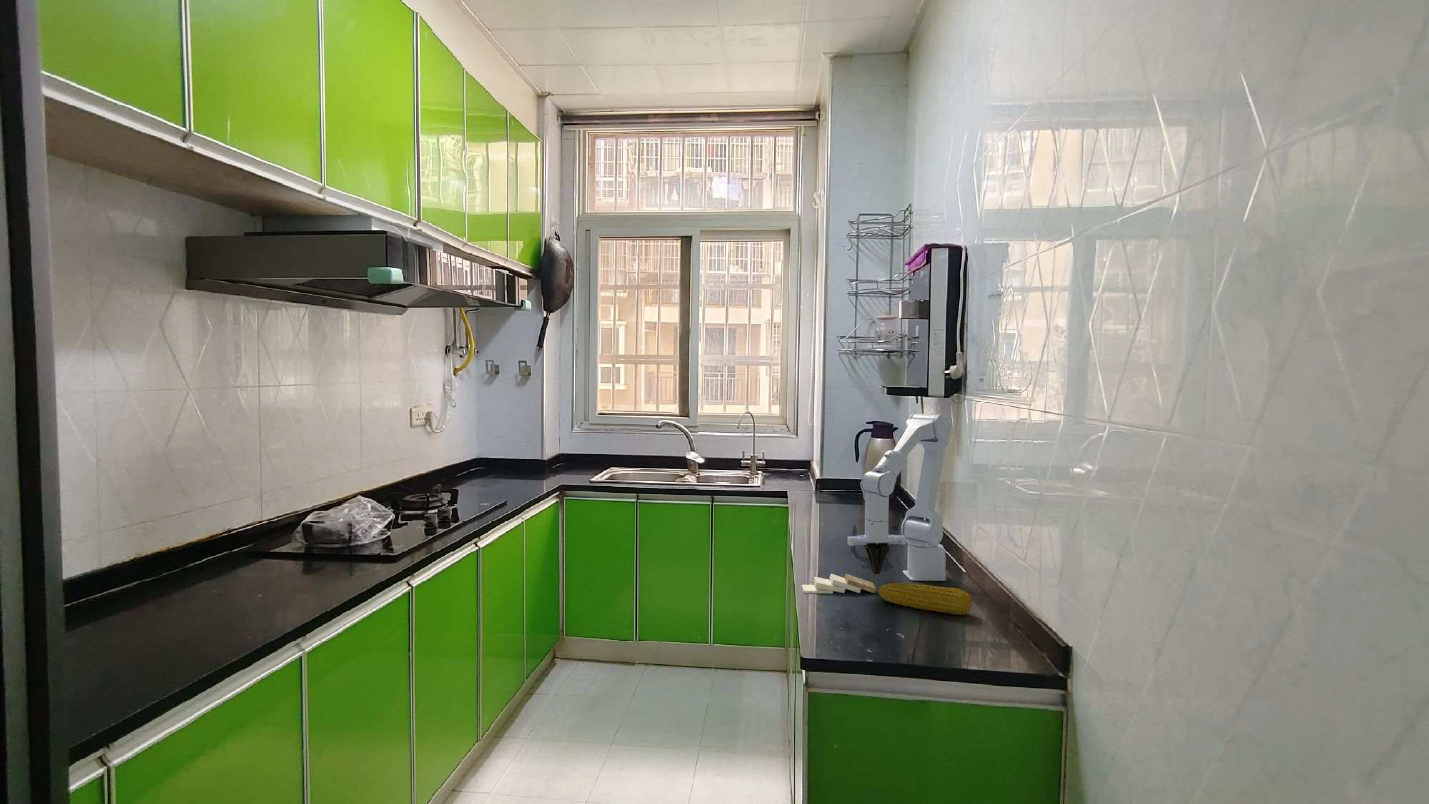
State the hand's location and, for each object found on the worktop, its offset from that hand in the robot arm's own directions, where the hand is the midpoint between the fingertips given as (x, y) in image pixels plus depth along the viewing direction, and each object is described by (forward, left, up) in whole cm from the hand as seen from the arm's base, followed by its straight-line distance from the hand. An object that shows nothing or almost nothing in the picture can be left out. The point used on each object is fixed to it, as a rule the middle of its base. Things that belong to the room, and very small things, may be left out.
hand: (876, 572), depth 168 cm
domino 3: (+4, 0, -4) cm, 6 cm away
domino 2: (+8, 0, -4) cm, 9 cm away
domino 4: (+1, 0, -4) cm, 4 cm away
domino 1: (+11, 0, -4) cm, 12 cm away
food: (-8, +13, -5) cm, 16 cm away
